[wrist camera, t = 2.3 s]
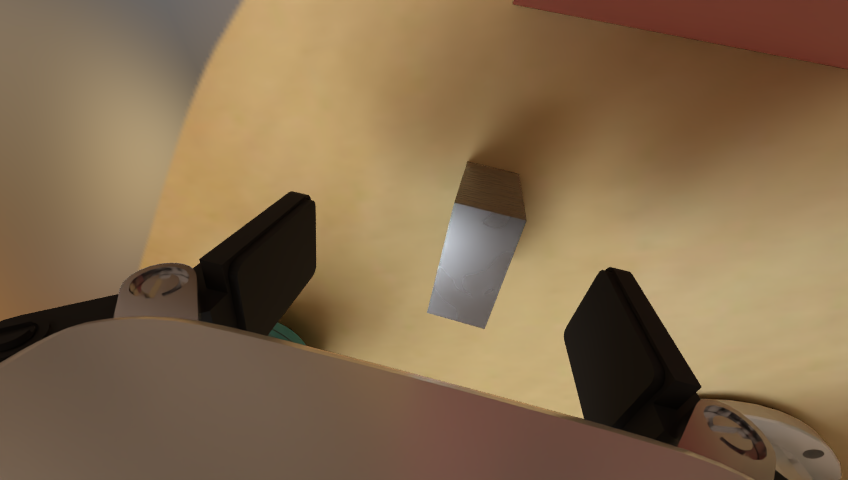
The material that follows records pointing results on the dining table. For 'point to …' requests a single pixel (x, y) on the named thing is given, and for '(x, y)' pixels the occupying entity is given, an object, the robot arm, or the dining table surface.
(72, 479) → the robot arm
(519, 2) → the red slotted block
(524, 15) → the dining table surface
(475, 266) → the grey flat block
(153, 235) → the dining table surface
